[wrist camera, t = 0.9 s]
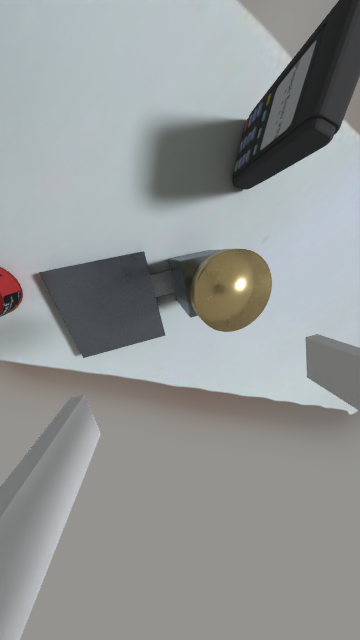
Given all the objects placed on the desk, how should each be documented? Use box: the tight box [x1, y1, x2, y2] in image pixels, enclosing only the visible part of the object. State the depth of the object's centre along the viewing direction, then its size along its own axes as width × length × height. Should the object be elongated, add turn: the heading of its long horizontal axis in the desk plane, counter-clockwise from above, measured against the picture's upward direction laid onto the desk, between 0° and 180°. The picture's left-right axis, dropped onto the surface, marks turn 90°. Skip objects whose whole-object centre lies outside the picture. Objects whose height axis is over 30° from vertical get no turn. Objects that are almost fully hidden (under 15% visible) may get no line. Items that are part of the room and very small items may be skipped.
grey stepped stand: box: [39, 249, 228, 358], centre depth 27 cm, size 16×28×10 cm, turn 101°
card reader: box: [233, 0, 360, 189], centre depth 20 cm, size 9×4×15 cm, turn 169°
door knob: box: [190, 249, 272, 332], centre depth 23 cm, size 9×9×10 cm
